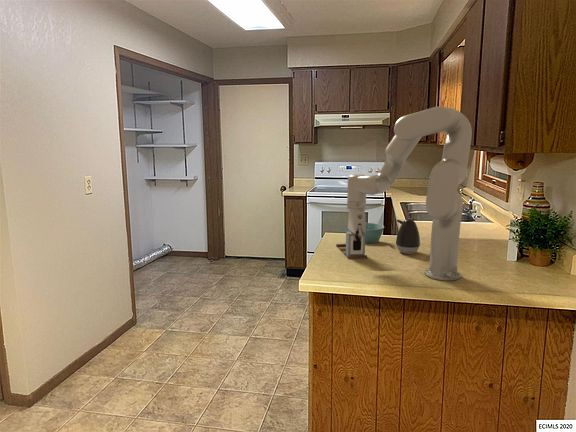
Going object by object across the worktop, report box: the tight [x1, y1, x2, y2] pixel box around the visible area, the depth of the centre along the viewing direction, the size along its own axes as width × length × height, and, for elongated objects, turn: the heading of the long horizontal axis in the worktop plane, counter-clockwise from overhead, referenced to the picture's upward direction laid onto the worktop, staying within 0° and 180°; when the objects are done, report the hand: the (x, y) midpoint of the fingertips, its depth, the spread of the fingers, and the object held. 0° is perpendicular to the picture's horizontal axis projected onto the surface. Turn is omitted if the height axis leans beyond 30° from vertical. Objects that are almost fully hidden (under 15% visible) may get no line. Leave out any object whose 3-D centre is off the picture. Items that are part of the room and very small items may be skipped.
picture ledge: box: [335, 243, 368, 260], centre depth 180 cm, size 20×8×2 cm, turn 7°
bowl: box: [365, 222, 385, 244], centre depth 202 cm, size 16×16×8 cm
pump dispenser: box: [395, 218, 421, 255], centre depth 183 cm, size 10×10×15 cm
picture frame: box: [345, 231, 366, 258], centre depth 173 cm, size 4×7×10 cm, turn 97°
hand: (355, 248), depth 173 cm, fingers closed on picture frame, 4 cm apart
